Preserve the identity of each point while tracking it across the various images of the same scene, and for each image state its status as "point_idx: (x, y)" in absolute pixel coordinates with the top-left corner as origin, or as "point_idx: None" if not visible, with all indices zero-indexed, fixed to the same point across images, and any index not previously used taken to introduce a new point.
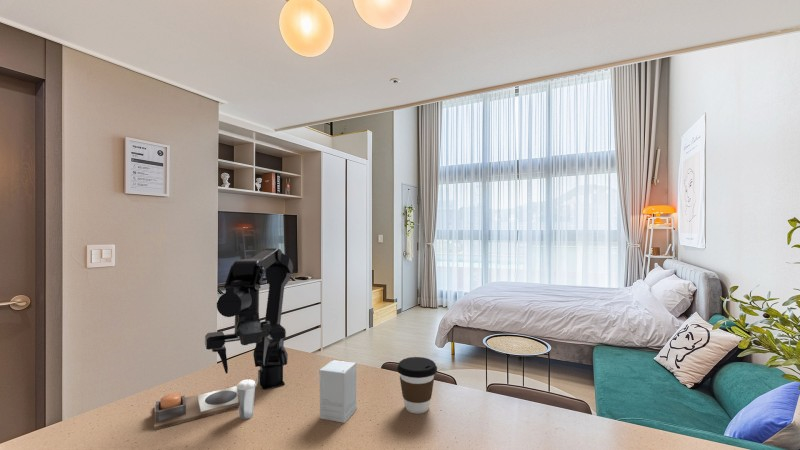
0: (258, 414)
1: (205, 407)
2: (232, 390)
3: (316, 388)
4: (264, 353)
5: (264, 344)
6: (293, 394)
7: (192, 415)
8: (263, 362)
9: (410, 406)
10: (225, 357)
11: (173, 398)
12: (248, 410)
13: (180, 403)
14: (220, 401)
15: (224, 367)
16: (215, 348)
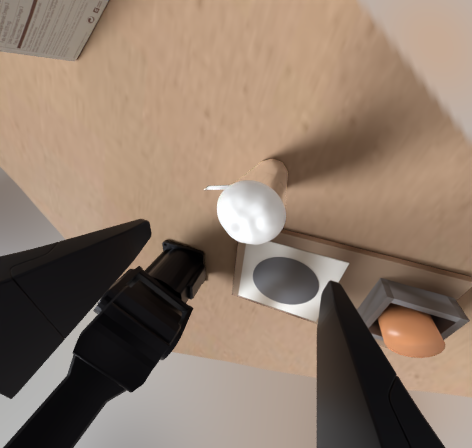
0: (244, 161)
1: (330, 271)
2: (254, 288)
3: (110, 181)
4: (99, 277)
5: (61, 336)
6: (155, 192)
7: (373, 262)
8: (143, 245)
9: None
10: (381, 412)
11: (413, 334)
12: (268, 163)
13: (384, 313)
14: (293, 269)
15: (360, 318)
16: None
